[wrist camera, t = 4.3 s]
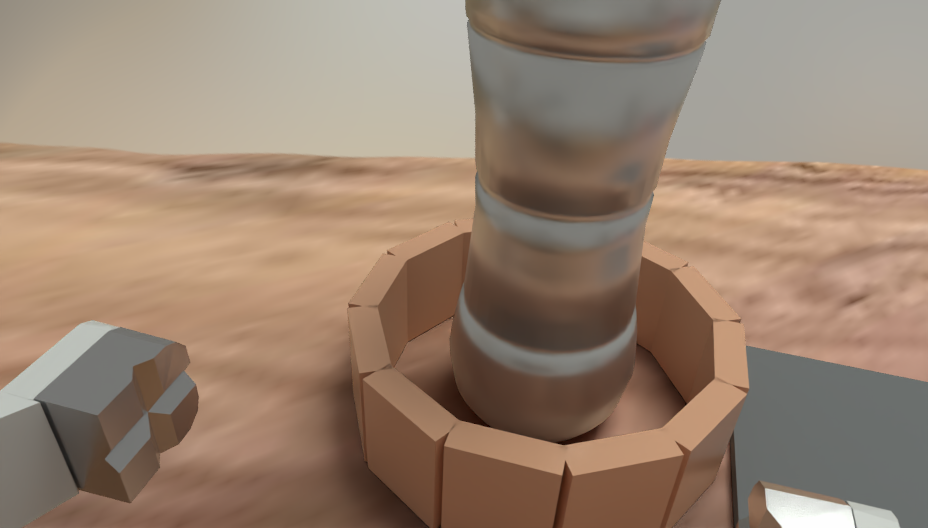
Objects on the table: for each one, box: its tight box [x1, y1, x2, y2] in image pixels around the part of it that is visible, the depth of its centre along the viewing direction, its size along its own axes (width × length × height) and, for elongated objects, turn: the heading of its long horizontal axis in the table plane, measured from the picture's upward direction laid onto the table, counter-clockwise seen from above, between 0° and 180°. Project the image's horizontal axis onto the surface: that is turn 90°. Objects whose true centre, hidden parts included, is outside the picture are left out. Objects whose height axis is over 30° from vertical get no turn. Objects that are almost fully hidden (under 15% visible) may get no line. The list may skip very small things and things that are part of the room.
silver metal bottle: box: [450, 0, 721, 443], centre depth 20 cm, size 6×7×20 cm
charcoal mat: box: [730, 346, 928, 528], centre depth 23 cm, size 10×10×1 cm
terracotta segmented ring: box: [347, 218, 749, 528], centre depth 24 cm, size 13×13×4 cm
